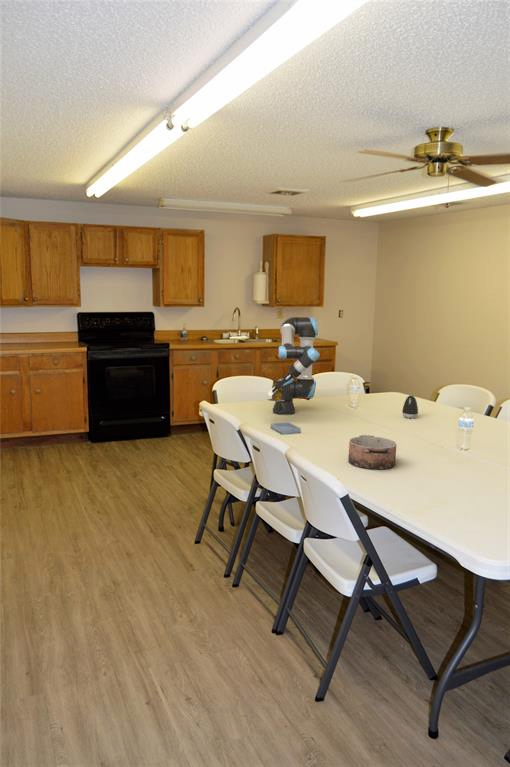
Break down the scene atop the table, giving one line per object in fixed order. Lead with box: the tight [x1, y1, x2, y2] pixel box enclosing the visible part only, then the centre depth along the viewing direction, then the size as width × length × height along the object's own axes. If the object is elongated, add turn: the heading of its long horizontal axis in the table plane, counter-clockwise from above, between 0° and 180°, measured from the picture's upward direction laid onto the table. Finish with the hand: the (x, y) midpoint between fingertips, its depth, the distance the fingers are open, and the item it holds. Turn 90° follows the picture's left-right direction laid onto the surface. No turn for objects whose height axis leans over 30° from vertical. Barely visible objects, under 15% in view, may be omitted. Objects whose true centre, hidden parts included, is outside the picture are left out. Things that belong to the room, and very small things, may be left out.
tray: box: [270, 421, 302, 436], centre depth 342 cm, size 12×16×3 cm
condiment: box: [266, 379, 284, 403], centre depth 351 cm, size 7×8×12 cm
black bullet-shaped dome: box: [401, 395, 419, 419], centre depth 386 cm, size 10×10×15 cm
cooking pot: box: [348, 434, 398, 471], centre depth 280 cm, size 30×22×11 cm
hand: (270, 394), depth 352 cm, fingers closed on condiment, 6 cm apart
